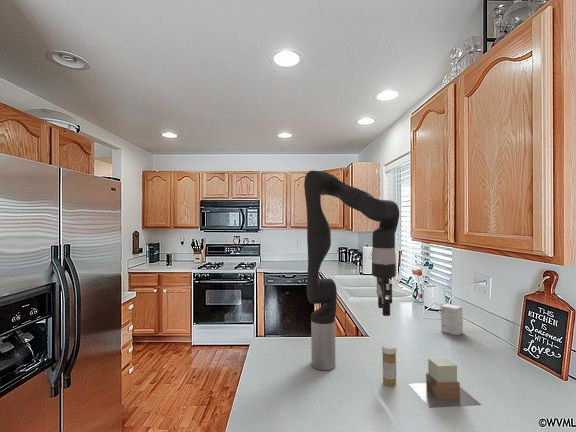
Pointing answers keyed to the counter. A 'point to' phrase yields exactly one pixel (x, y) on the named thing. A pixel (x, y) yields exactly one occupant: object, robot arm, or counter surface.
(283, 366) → the counter surface
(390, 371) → the sprinkles bottle
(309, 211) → the robot arm
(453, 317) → the small box
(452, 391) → the walnut base block
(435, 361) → the sage top block
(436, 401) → the slate board
